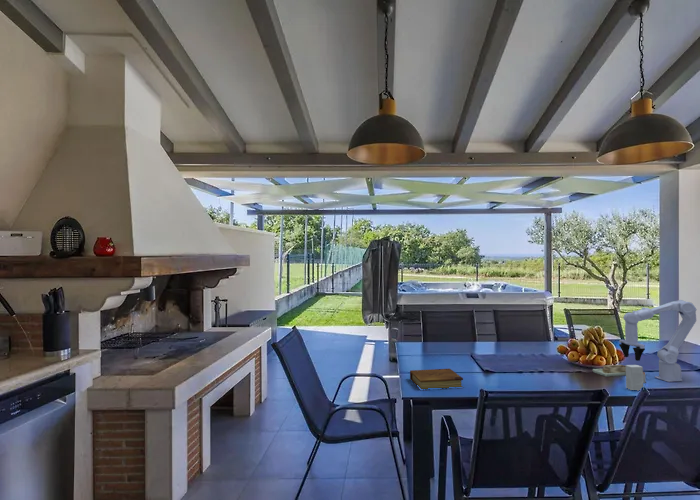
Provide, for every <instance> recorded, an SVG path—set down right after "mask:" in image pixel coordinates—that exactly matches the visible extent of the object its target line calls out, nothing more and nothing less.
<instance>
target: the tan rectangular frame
mask: <svg viewBox="0 0 700 500" xmlns="http://www.w3.org/2000/svg"><path fill="white" fill-rule="evenodd" d="M601 369H602V371H603V373H623V372H626V365H624V364H613V365H611V364H610V365H609V364H608V365H603V368H601Z"/></svg>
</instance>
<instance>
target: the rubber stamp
mask: <svg viewBox="0 0 700 500" xmlns="http://www.w3.org/2000/svg"><path fill="white" fill-rule="evenodd" d="M646 383H647V381H646V372H645V371H643V384H646Z"/></svg>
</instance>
